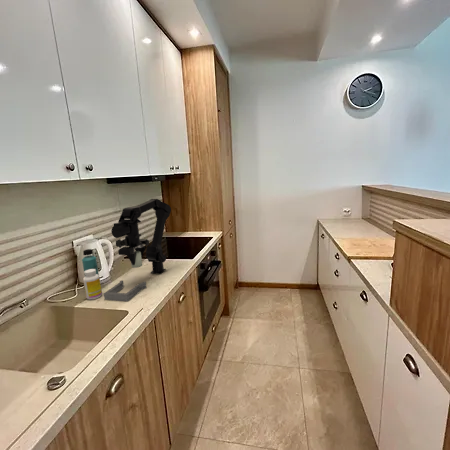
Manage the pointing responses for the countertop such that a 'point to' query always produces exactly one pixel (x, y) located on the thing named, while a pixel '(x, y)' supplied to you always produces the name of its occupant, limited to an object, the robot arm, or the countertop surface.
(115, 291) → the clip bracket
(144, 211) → the robot arm
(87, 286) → the supplement bottle
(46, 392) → the countertop surface
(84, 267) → the beverage bottle
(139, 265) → the grey rounded piece
